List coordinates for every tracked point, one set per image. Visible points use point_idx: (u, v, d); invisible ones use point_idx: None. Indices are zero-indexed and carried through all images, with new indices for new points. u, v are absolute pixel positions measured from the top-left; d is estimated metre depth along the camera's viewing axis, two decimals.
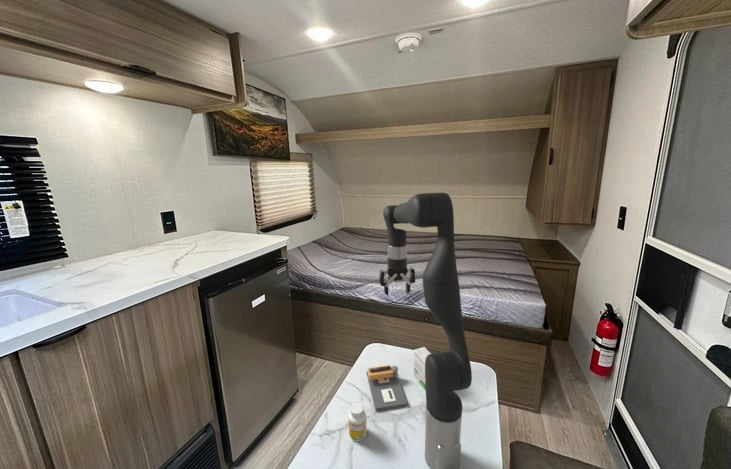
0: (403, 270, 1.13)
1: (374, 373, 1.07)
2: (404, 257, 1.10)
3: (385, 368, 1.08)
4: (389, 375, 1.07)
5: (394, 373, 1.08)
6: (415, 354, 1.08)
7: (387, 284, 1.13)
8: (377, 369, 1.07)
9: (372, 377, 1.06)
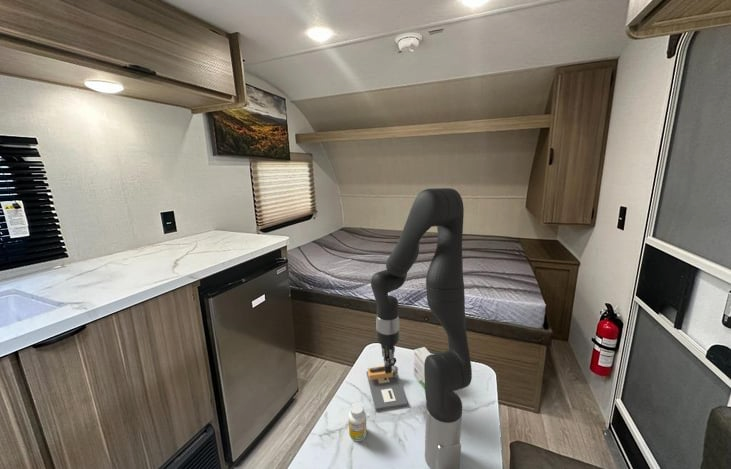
0: None
1: (374, 373, 1.07)
2: None
3: None
4: (389, 375, 1.07)
5: (394, 373, 1.08)
6: (415, 354, 1.08)
7: None
8: (377, 369, 1.07)
9: (372, 377, 1.06)
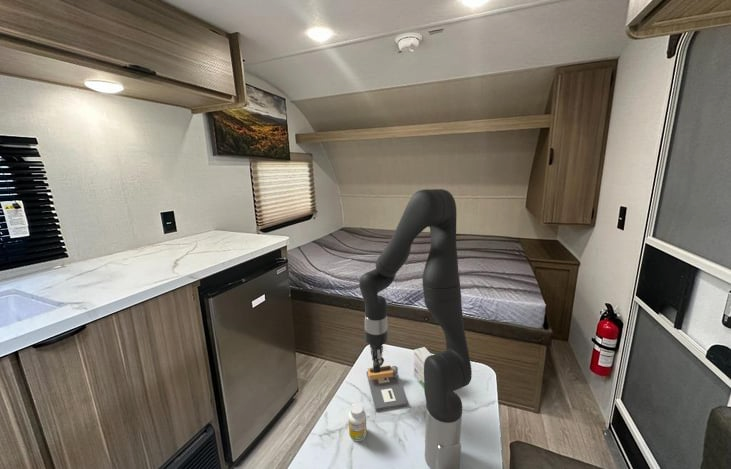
0: None
1: (374, 373, 1.07)
2: None
3: (385, 368, 1.08)
4: (389, 375, 1.07)
5: (394, 373, 1.08)
6: (415, 354, 1.08)
7: None
8: None
9: (372, 377, 1.06)
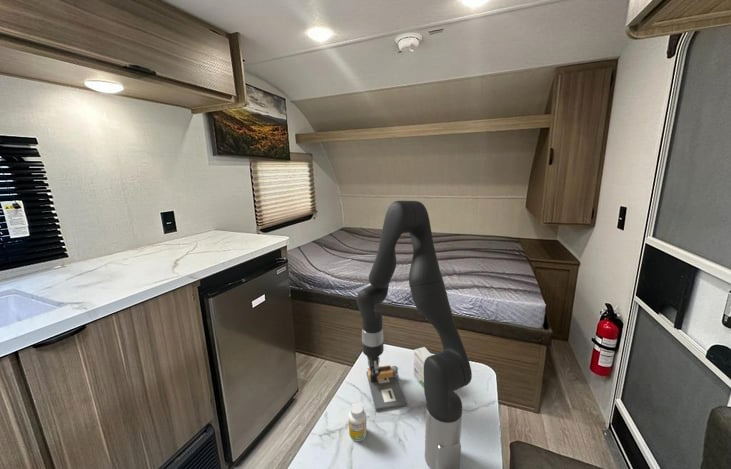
0: None
1: None
2: None
3: (385, 368, 1.08)
4: (389, 375, 1.07)
5: (394, 373, 1.08)
6: (415, 354, 1.08)
7: None
8: None
9: None
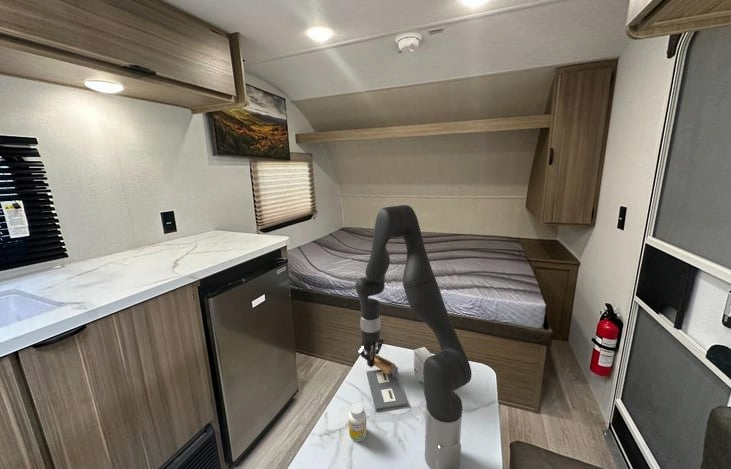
0: None
1: (376, 360, 1.14)
2: None
3: (386, 362, 1.11)
4: (386, 370, 1.10)
5: (391, 372, 1.09)
6: (415, 354, 1.08)
7: (372, 356, 1.10)
8: (380, 359, 1.13)
9: None
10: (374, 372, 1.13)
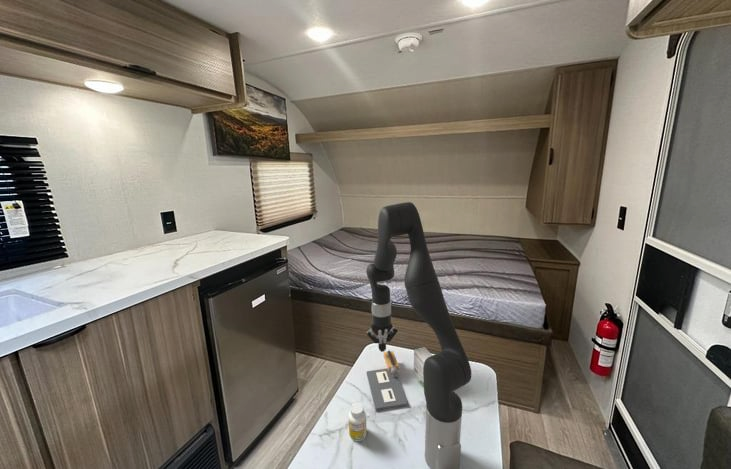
0: (389, 324, 1.13)
1: (386, 355, 1.17)
2: (388, 314, 1.09)
3: (390, 360, 1.12)
4: (387, 367, 1.11)
5: (391, 371, 1.10)
6: (415, 354, 1.08)
7: (381, 341, 1.14)
8: (389, 355, 1.15)
9: (384, 356, 1.18)
10: (374, 372, 1.13)
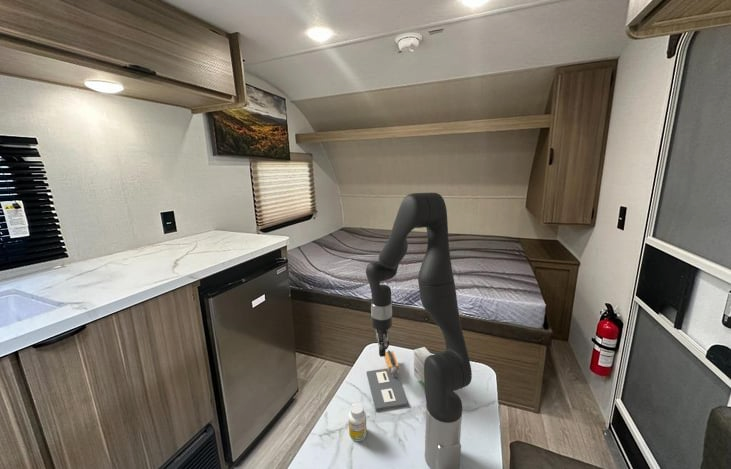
0: None
1: (386, 355, 1.17)
2: None
3: (390, 360, 1.12)
4: (387, 367, 1.11)
5: (391, 371, 1.10)
6: (415, 354, 1.08)
7: None
8: (389, 355, 1.15)
9: (384, 356, 1.18)
10: (374, 372, 1.13)
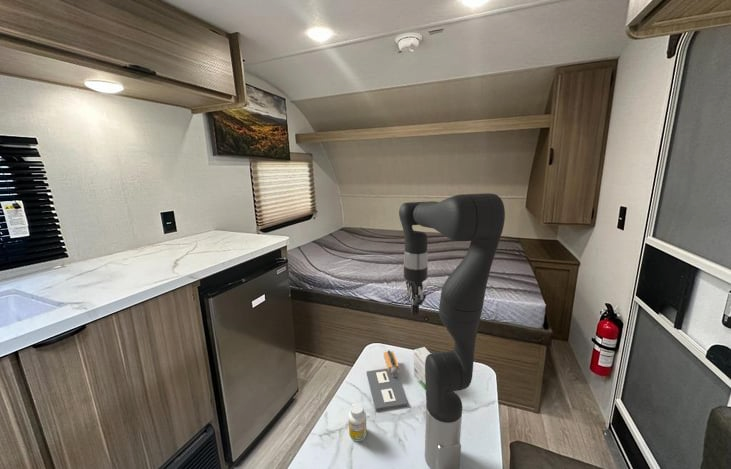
0: None
1: (386, 355, 1.17)
2: None
3: (390, 360, 1.12)
4: (387, 367, 1.11)
5: (391, 371, 1.10)
6: (415, 354, 1.08)
7: None
8: (389, 355, 1.15)
9: (384, 356, 1.18)
10: (374, 372, 1.13)
